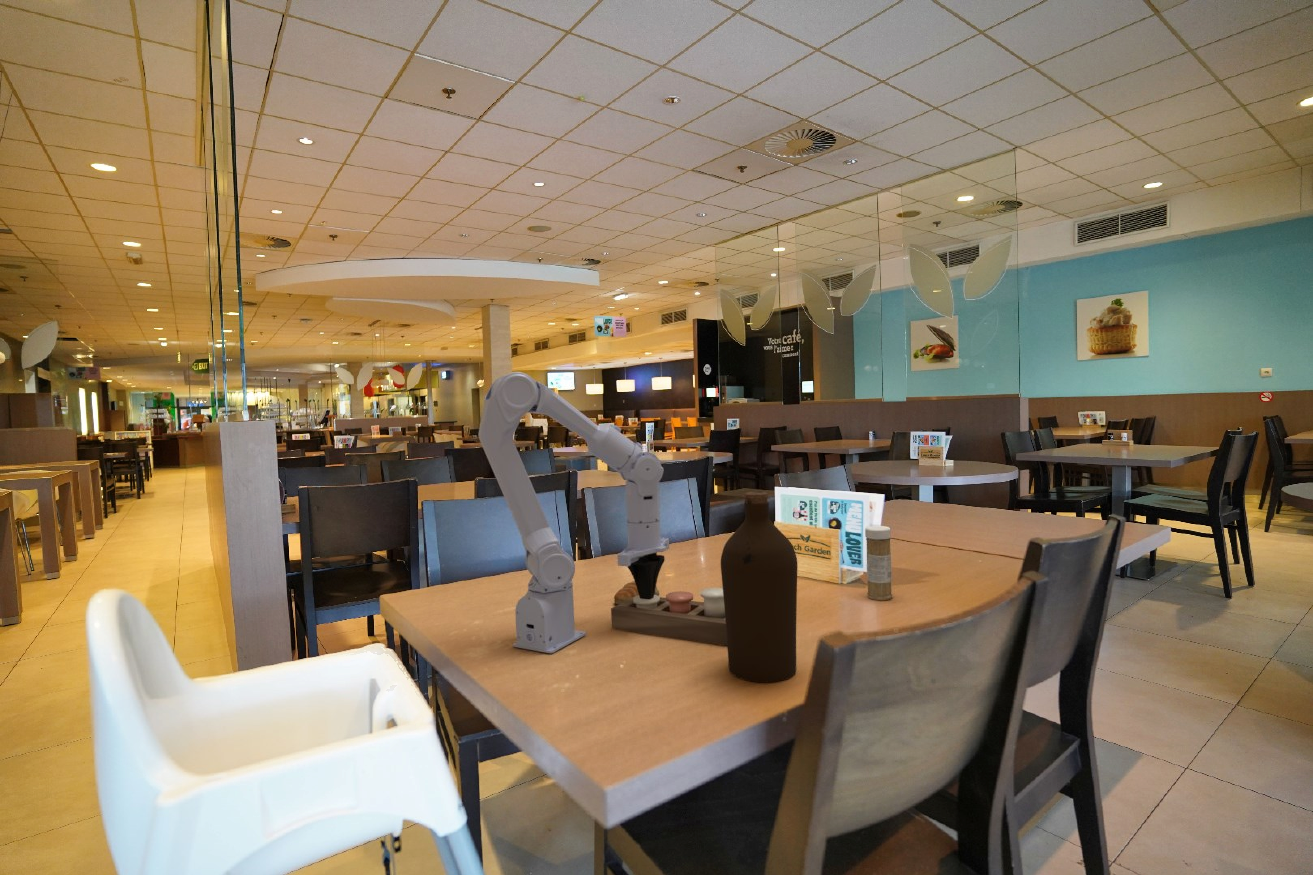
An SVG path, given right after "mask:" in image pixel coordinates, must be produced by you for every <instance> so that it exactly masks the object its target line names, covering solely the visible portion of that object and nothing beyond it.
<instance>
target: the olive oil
mask: <svg viewBox="0 0 1313 875" xmlns="http://www.w3.org/2000/svg"><path fill="white" fill-rule="evenodd" d="M744 498H745V502H744V504H743V505H744V521H743V522H742V523H741V524H740V526H738V528H736V530H735V531H734V533H732V535H731V536H730V537H729V538H728V539H727V541H726V542H725V544H724V545H723V549H722V553H721V556H720V573H721V574H720V575H721V582H722V584H721V585H722V588H723V596H724V608H725V620H726V632H727V660H728V668H729V669H728V670H729V672H730V673H731V674H732V675H733V676H734V677H736V678H739V679H740V678H741V680H743V679H744V680H743V681H748V682H752V681H754V682H753V683H777V682H782V681H785V680H787V679H790V678H791V677H792V676H795V673H796V672H797V607H798V606H797V605H798V604H797V600H798V598H797V596H798V557H797V554H796V550H795V548H794V546H793V544H792V542H791V541H790V540H789V538H788V537H786V535H784V533H782V531H781V530H780V529H779V528H778V527H777V525H775V524H774V523H773V522H772V521H771V520H770V519H771V518H770V502H768V498H769V493H768V492H765V491H747V492H745V493H744Z"/></svg>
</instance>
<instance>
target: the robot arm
mask: <svg viewBox="0 0 1313 875" xmlns="http://www.w3.org/2000/svg"><path fill="white" fill-rule="evenodd" d="M481 413H482V414H481V417H480V422H479V429H478V440H479V442H480V444H481V447H482V449H483V450H484V451H483V452H484V453H485V455H486V458H487V460H488V463H489V465H490V467H491V470H492V472H493V474H494V477H495V478H496V481H497V483H498V486H499V488H500V490H501V492H502V495H503V497H504V499H505V502H506V504H507V506H508V508H509V511H510V514H511V515H512V518H513V520H514V523H515V525H516V527H517V529H518V531H519V534H520V536H521V541H522V542H521V543H522V546H523V547H524V551H525V566H526V569H527V571H528V572H529V574H530V575H532V576H531V578H530V579H529V582H528V583H527V592H526V593H525V595H524V596H522V597H521V598H520V599H519V600H518V601H517V602H516V606H515V609H514V610H515V629H516V630H515V631H516V633H515V634H516V642H513V644H512V647H513V648H514V647H515V648H520V649H524V650H529V651H534V652H535V651H536V652H542V653H545V654H546V653H547V654H554V653H555V652H557V651H560V650H561V649H562V648H565V647H566V646H568V645H569V644H572V643H573V642H575V641H577V640H579V639H581V638H583V637H584V636H586V635H587V633H586V631H582V630H577V629H576V628H575V608H574V589H573V588H574V587H573V586H574V585H573V584H574V583H573V579H574V576H575V574H576V564H575V561H574V559H573V558H572V556H571V555H570V554H569V553H567V552H566V551H565V550H564V548H563V547H562V546H561V543H560V541H559V540H558V538H557V535H556V534H555V533H554V531H553V529H552V527H551V526H550V524H549V521H548V519H547V516H546V514H545V512H544V510H543V507H542V505H541V502H540V500H539V498H538V496H537V493H536V491H535V489H534V486H533V483H532V481H531V478H530V477H529V474H528V472H527V470H526V466H525V464H524V463H523V460H522V458H521V456H520V453H519V450H518V449H517V447H516V444H515V442H514V439H513V438H514V434H515V432H516V430H517V429H518V426H519V424H520V423H521V420H522V419H523V418H524V416H525V415H527V414H538V415H546V416H547V417H549V418H551V419H553V421H556V423H558V424H560V425H561V426H563V427H565V428H566V429H568V430H569V431H570V432H572V433H574V434H575V435H577V436H578V437H579V438H582V439H583V440H584V441H585V442H586V446H587V451H588V452H589V453H590V455H591V454H592V455H593V456H594V457H596V458H597V459H598V460H600V461H601V462H603V463H604V464H606V465H607V466H608V467H610V468H612V470H614V471H616V472H618V473H619V474H620V476H621V479H623V480H624V481H625V503H626V506H625V507H626V508H625V509H626V527H627V528H626V530H627V534H626V535H627V546H626V547H625V548H624V549H623V550H622V551H621V552H620V553H617V554H616V555H617V566H618V567H619V566H620V567H626V568H628V570H629V572H630V573H631V576H632V578H633V579H634V580H633V581H635V583H636V587H637V590H638V593H639V597H640V598H641V599H649V600H650V599H652V598H654V593H655V588H656V586H657V583H658V578H659V574H660V572H661V568H662V566H663V564H664V563H665V560H666V559H665V555H664V554H663V555H662V554H657V553H663V552H665V551H667V550H669V549H670V538H669V537H661V516H660V496H659V495H660V493H659V482H660V481H661V479H662V478H663V475H664V472H665V471H664V467H662V462H660V459H659V457H658V456H657V455H655V454H654V453H653V452H652V453H651V452H649V451H643V450H642V448H643V444H641V443H640V442H634V441H632V440H631V439H630V438H629V437H627V436H626V435H624V434H623V433H621V431H622V428H621V427H620V426H618V425H615V424H613V425H611V424H608V423H605V424H601V425H598V424H596V423H595V422H594V421H592V420H591V419H590V418H589V417H587V416H586V415H585V414H584V413H582V412H581V411H580V410H578V409H577V408H576V407H574V406H573V405H572V404H570V402H569V401H567V400H566V399H564V398H563V397H562V396H560V395H559V393H557V392H555V391H554V390H552V389H551V388H550V387H548V386H547V385H546V384H544V383H542V382H539V381H538V380H537V381H535V379H533V377H531V376H530V375H528V374H527V373H524V372H522V371H513V372H510V373H508V374H506V375H502V376H500V377H498V378H497V379H495V380H494V381H493V382H492V384H491V386H490V387H489V389H487V392H486V393H485V395H484V397H483V406H482V412H481Z"/></svg>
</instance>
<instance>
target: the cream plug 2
mask: <svg viewBox="0 0 1313 875" xmlns="http://www.w3.org/2000/svg"><path fill="white" fill-rule="evenodd" d="M700 597H701V598H703V602H704V616H705V617H713V618H724V617H725V608H724V596H723V587H707V588H704V589H702V590H700Z"/></svg>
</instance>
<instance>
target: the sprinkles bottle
mask: <svg viewBox="0 0 1313 875" xmlns="http://www.w3.org/2000/svg"><path fill="white" fill-rule="evenodd" d="M864 530H865V531H864V532H865V533H864V534H865V535H864V537H865V538H866V581H867V595H866V596H867V597H868V598H869V599H871V600H876V601H888V600H891V599H893V595H892V554H891V538H892V531H891V528H890V527H889V526H886V525H869V526H866V527H865V529H864Z"/></svg>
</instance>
